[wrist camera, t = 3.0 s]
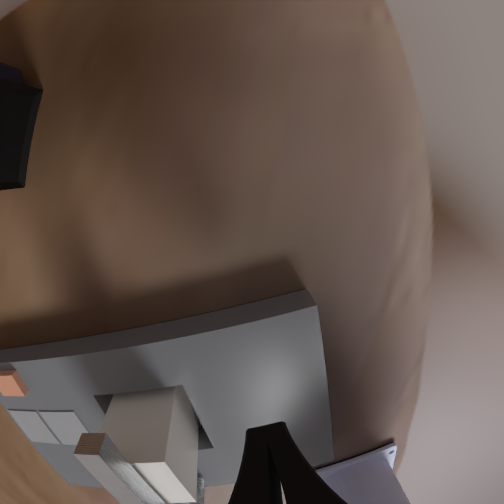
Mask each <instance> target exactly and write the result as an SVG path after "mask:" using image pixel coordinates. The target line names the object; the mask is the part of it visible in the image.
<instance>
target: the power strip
mask: <svg viewBox="0 0 504 504" xmlns="http://www.w3.org/2000/svg"><path fill="white" fill-rule="evenodd" d="M179 385H183V387H184V389H185V391H186V393H187V395H188V397H189V400H190V402H191V404H192V406H193V408H194V410H195V412H196V414H197V416H198V418H199V420H200V422H201V424H202V426H203V428H199V436H198V462H197V476H199V477H201V478H202V479H203V480H204V487H207V486H217V485H225V484H232V483H236V480H237V477H238V473H239V469H240V465H241V461H242V456H243V451H244V445H245V436H246V430H247V429H248V428H253V427H258V426H263V425H267V424H272V423H276V422H280V421H283V422H285V423H286V426H287V428H288V431H289V433H290V435H291V437H292V439H293V440H294V442H295V444H296V445H297V447H298V449H299V450H300V452H301V453H302V454H303V456H304V457H305V458H306V460H307V461H308V462H309V464H310V465H311V466H312V467H314V466H317V465H321V464H324V463H328V462H331V461H334V448H333V435H332V424H331V413H330V403H329V393H328V384H327V375H326V367H325V358H324V350H323V343H322V335H321V328H320V320H319V313H318V307H317V304H316V302H315V301H314V300H313V298H312V297H311V295H310V294H309V292H308V291H307V289H304V290H300V291H296V292H292V293H289V294H285V295H281V296H277V297H273V298H269V299H265V300H261V301H257V302H252V303H248V304H244V305H240V306H236V307H231V308H227V309H223V310H218V311H214V312H209V313H205V314H200V315H196V316H191V317H187V318H182V319H177V320H173V321H168V322H163V323H158V324H153V325H148V326H143V327H138V328H133V329H127V330H122V331H117V332H111V333H106V334H100V335H94V336H88V337H82V338H76V339H70V340H64V341H58V342H51V343H45V344H38V345H31V346H24V347H16V348H8V349H0V402H1V404H2V405H3V407H4V408H5V410H6V411H7V412H8V414H9V415H10V417H11V418H12V419H13V421H14V422H15V423H16V425H17V426H18V427H19V429H20V430H21V431H22V432H23V434H24V435H25V436H26V438H27V439H28V440H29V441H30V442H31V444H32V445H33V446H34V447H35V448H36V450H37V451H38V452H39V453H40V454H41V455H42V456H43V458H44V459H45V460H46V461H47V462H48V463H49V464H50V465H51V466H52V467H53V469H54V470H55V471H56V472H57V473H58V474H59V475H60V476H61V477H62V478H63V479H64V480H65V481H66V482H67V483H68V484H73V485H81V486H90V487H100V488H105V487H104V486H103V485H102V484H101V483H100V482H99V481H98V480H97V479H96V478H95V477H94V476H93V475H92V474H91V473H90V472H89V471H88V470H87V469H86V468H85V467H84V465H83V464H82V463H81V462H80V461H79V460H78V459H77V458H76V456H75V455H74V451H75V449H76V446H77V444H78V441H79V439H80V436H81V434H82V433H99V431H100V428H101V426H102V423H103V420H104V418H105V415H106V412H107V410H108V407H109V405H110V402H111V400H112V397H113V395H114V394H116V393H126V392H135V391H144V390H151V389H159V388H166V387H172V386H179Z"/></svg>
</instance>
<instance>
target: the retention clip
mask: <svg viewBox="0 0 504 504" xmlns="http://www.w3.org/2000/svg"><path fill="white" fill-rule="evenodd" d="M74 455H75V456H76V458H77V459H78V460H79V461H80V462H81V463H82V464H83V465H84V467H85V468H86V469H87V470H88V471H89V472H90V473H91V474H92V475H93V476H94V477H95V478H96V479H97V480H98V481H99V482H100V483H101V484H102V485H103V486H104V487H105V488H106V489H107V490H108V491H109V492H110V493H111V494H112V495H113V496H114V497H115V498H116V499H117V500H118V501H119V502H120V503H121V504H166V503H165V502H164V501H163V500H162V499H161V498H160V497H159V496H158V495H157V494H156V493H155V492H154V491H153V490H152V489H151V487H150V486H149V485H148V484H147V483H146V482H145V481H144V480H143V479H142V477H141V476H140V475H139V474H138V473H137V472H136V470H135V469H134V468H133V467H132V466H131V465H130V463H129V462H128V461H127V460H126V458H125V457H124V456H123V455H122V453H121V452H120V451H119V450H118V448H117V447H116V446H115V444H114V443H113V442H112V440H111V439H110V438H109V436H108V435H107V434H106V433H82V434H81V436H80V439H79V441H78V444H77V446H76V449H75V451H74ZM173 504H204V480H203V479H202V478H201V477H199V476H197V502H188V503H173Z"/></svg>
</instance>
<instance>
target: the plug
mask: <svg viewBox="0 0 504 504" xmlns="http://www.w3.org/2000/svg"><path fill="white" fill-rule="evenodd" d="M99 433H106V434H107V435H108V436H109V438H110V439H111V440H112V442H113V443H114V444H115V446H116V447H117V448H118V450H119V451H120V452H121V453H122V455H123V456H124V457H125V458H126V460H127V461H128V462H129V463H130V465H131V466H132V467H133V468H134V469H135V470H136V472H137V473H138V474H139V475H140V476H141V477H142V479H143V480H144V481H145V482H146V483H147V484H148V485H149V486H150V487H151V489H152V490H153V491H154V492H155V493H156V494H157V495H158V496H159V497H160V498H161V499H162V500H163V501H164V502H165V503H188V502H197V462H198V436H199V418H198V416H197V414H196V412H195V410H194V408H193V406H192V404H191V402H190V400H189V398H188V396H187V393H186V391H185V389H184V387H183V385H179V386H172V387H166V388H159V389H151V390H144V391H135V392H126V393H116V394H114V395H113V397H112V400H111V402H110V405H109V407H108V410H107V412H106V415H105V418H104V420H103V423H102V426H101V428H100V431H99Z"/></svg>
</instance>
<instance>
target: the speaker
mask: <svg viewBox="0 0 504 504" xmlns="http://www.w3.org/2000/svg"><path fill="white" fill-rule="evenodd" d="M42 92H43V90H40V89H37V88H33V87H30V86H27V85H23V84H22V79H21V72H20V70H18V69H16V68H14V67H11V66H9V65H7V64H4V63H1V62H0V190H6V189H14V188H23V187H25V178H26V170H27V163H28V156H29V150H30V145H31V139H32V134H33V129H34V124H35V120H36V115H37V111H38V107H39V103H40V99H41V95H42Z"/></svg>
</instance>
